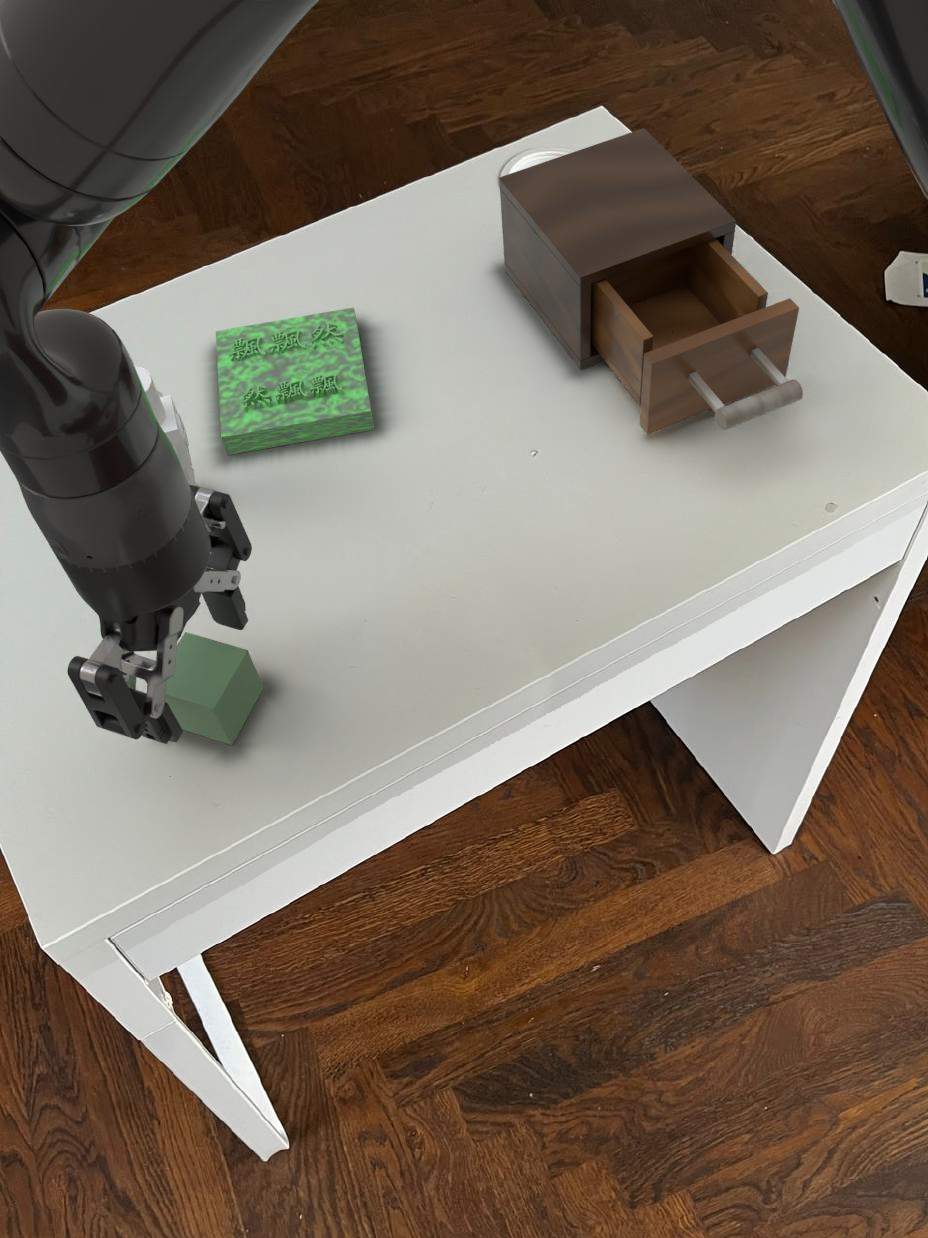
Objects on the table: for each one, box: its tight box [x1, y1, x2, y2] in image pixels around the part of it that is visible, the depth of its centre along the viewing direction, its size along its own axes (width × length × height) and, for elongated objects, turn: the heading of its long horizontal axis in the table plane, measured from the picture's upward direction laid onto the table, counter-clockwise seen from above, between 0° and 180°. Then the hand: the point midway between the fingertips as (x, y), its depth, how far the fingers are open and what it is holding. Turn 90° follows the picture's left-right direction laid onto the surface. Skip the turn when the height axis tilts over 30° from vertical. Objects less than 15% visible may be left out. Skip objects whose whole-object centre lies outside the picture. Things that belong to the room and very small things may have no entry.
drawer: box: [590, 238, 804, 436], centre depth 83 cm, size 18×12×7 cm, turn 24°
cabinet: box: [498, 128, 737, 370], centre depth 90 cm, size 14×13×9 cm
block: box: [165, 631, 264, 746], centre depth 72 cm, size 4×4×4 cm
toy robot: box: [134, 365, 198, 486], centre depth 80 cm, size 4×8×12 cm, turn 17°
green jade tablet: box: [215, 306, 375, 456], centre depth 89 cm, size 11×12×2 cm
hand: (200, 676), depth 71 cm, fingers open, 8 cm apart
